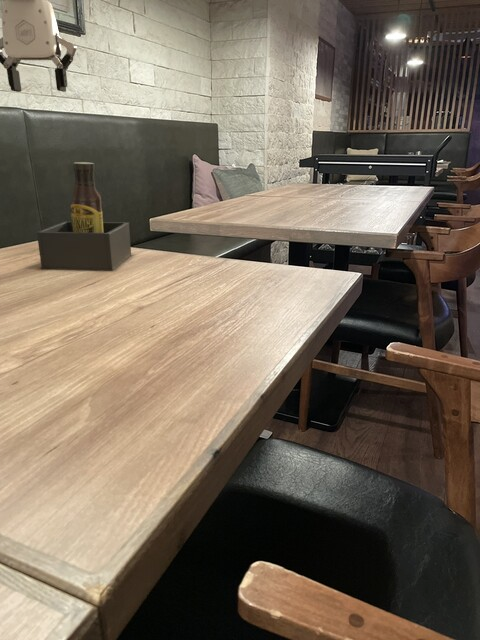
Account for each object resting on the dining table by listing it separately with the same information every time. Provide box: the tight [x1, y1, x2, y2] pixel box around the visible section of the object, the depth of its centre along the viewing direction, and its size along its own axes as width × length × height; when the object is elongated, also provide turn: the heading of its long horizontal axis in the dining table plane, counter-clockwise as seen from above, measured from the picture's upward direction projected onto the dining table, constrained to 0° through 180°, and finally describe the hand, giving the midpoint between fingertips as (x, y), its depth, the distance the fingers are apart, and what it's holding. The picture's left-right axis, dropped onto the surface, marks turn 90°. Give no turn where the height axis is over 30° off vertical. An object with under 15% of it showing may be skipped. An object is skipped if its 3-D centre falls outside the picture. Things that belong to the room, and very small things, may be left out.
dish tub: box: [36, 220, 132, 272], centre depth 104 cm, size 15×14×8 cm
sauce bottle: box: [70, 161, 104, 233], centre depth 102 cm, size 7×6×20 cm
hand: (39, 91), depth 102 cm, fingers open, 9 cm apart
